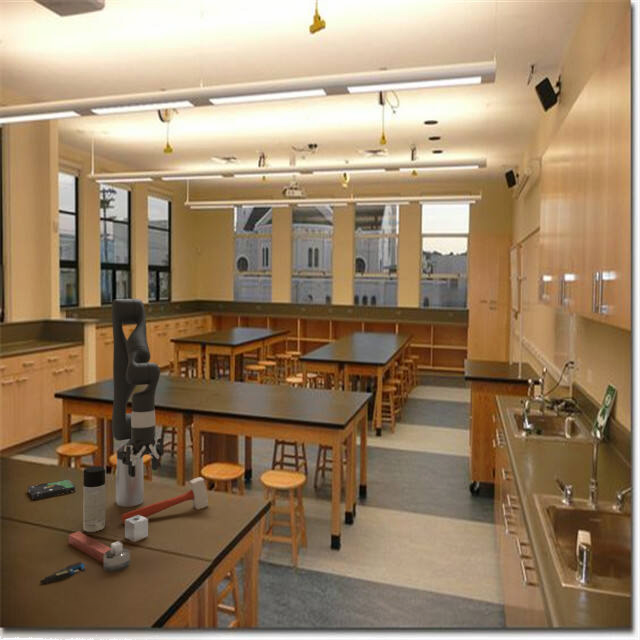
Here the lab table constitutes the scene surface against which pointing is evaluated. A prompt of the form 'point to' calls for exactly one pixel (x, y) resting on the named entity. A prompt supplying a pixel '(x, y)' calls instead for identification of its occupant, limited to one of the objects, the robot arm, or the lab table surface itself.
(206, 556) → the lab table surface
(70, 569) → the micrometer
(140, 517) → the cube with square hole
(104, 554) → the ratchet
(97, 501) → the spray can
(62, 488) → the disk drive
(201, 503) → the mallet
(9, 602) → the lab table surface
